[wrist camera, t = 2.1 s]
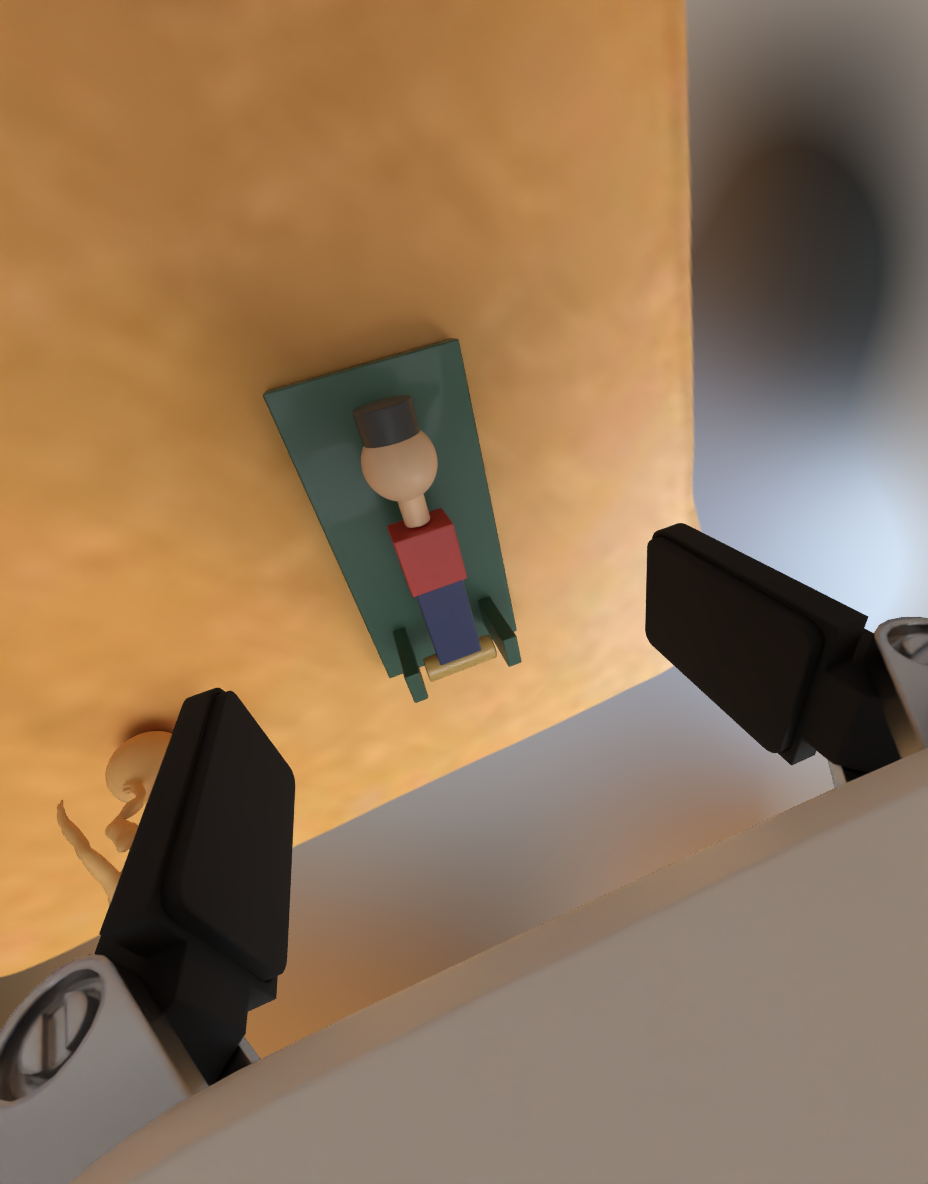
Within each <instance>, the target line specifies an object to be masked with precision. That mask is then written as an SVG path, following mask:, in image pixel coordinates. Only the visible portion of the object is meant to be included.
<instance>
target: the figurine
mask: <svg viewBox="0 0 928 1184" xmlns="http://www.w3.org/2000/svg"><path fill="white" fill-rule="evenodd" d="M171 735H172V733H169V732H165V731H150V732H145V733H141V734H139V735H136V736H134V737H132V738H130V739H129V740H127V741H126V742H124V743H123V744H122V745H121V746H120V747H119V748H118V749H117V750H116V751H115V752H114V753H113V755H112V756H111V758H110V760H109V762H108V765H107V768H106V783H107V786H108V789H109V790H110V792H111V793H112V794H113V795H114V796H115V797H116V798H117V799H119V800H120V801H122V802H125V803H126V805H125V806H124V807H123V809H122V811H121V812H120V814H119V815H118V816H117V817H116V818H115V819H114V820H113V821H112V822H111V823H110V824H109V825H108V826H107V828H106V830H105V834H106V836H107V837H108V838H110V839H111V840H112V841H113V843H114V844H115V845H116V848H117V851H118V852H125V851H127V850H128V849H130V848H131V845H132V843H133V840H134V837H135V834H136V832H137V829H138V825H137V824H135V823H131V822H129V821H127V820H125V819H127V818H129V817H131V816H133V815H134V814H136V813H137V812H138V811H139V810H140V809H141V808H142V806H143V804H147V801H148V799H149V796H150V793H151V790H152V788H153V785H154V782H155V779H156V777H157V774H158V771H159V768H160V766H161V763H162V760H163V757H164V755H165V752H166V749H167V746H168V744H169V741H170V738H171ZM57 821H58V823H59V826H60V827H61V830H62V833H63V835H64V836H65V838H66V839H67V840H68V841H69V842H70V843H71V844H72V845H73V846H74V848H75V851H76V854H77V856H78V857H79V859H80V860H81V861H82V863H83V864H84V866H85V867H86V868H87V870H88V871H89V872H90V873H91V875H92V876H93V877H94V878H95V879H96V880H98V881H99V882H100V883H101V885H102V886H103V888H104V890H105V892H106V894H107V896H108V902H109V905H110V903H111V900H112V898H113V895H114V892H115V889H116V887H117V884H118V881H119V878H120V876H121V873H122V871H121V873H120V872H119V871H118V870H117V869H116V868H115V867H114V866H113V865H112V864H110V863H109V862H108V861H107V860H106V859H105V858H104V857H103V856H102V855H100V854H99V853H98V852H96V851H95V850H93V849H92V848H91V847H90V844H89V841H88V840H87V838H86V837H85V836H84V835H83V833H82V832H81V831H80V829H79V828H78V827H77V826H76V825H75V824H74V823H72V822H71V821H70V820H69V818H68V817H67V815H66V813H65V810H64V808H63V800H61V803H60V804H58V806H57ZM122 870H123V869H122Z"/></svg>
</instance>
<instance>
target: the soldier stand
mask: <svg viewBox="0 0 928 1184" xmlns="http://www.w3.org/2000/svg"><path fill="white" fill-rule="evenodd" d="M397 395H410V396H411V398H412V401H413V405H414V409H415V412H416V416H417V420H418V424H419V427H420V430H422V431H423V432H424V433H425V434H426V435H427V436H428V438H429V439H430V440H431V442H432V443H433V446H434V448H435V451H436V454H437V462H438V466H437V473H436V476H435V479H434V481H433V483H432V484H431V486H430V487H429V489H428V490H427V491H426V492H425V493H424V497H425V501H426V504H427V508H428V511H429V512H430V511H433V510H436V509H439V508H442V509H443V510H444V512H445V513H446V515H447V516H448V517H449V519H450V520H451V521H452V523H453V524H454V528H455V532H456V536H457V540H458V543H459V547H460V551H461V555H462V559H463V563H464V567H465V570H466V574H467V578H466V579H464V580H463V581H464V585H465V589H466V593H467V596H468V600H469V604H470V608H471V611H472V615H473V619H474V623H475V626H476V630H477V634H478V638H479V637H481V636H484V635H487V634H488V635H489V636H490V637H491V639H492V640H493V641H494V642H495V644H496V646H497V647H498V649H499V651H500V653H501V654H502V656H503V658H504V659H505V661H506V663H507V664H508V666H509V667H510V666H513V665H515V664H518V663H520V662H521V657H520V652H519V647H518V642H517V637H516V635H515V633H514V631H516V624H515V619H514V614H513V609H512V604H511V599H510V594H509V589H508V584H507V579H506V574H505V569H504V564H503V559H502V554H501V549H500V544H499V539H498V534H497V529H496V524H495V519H494V514H493V509H492V504H491V499H490V494H489V489H488V484H487V479H486V474H485V469H484V464H483V459H482V454H481V449H480V444H479V439H478V434H477V429H476V424H475V419H474V414H473V409H472V404H471V399H470V394H469V389H468V384H467V379H466V374H465V369H464V364H463V359H462V354H461V349H460V344H459V340H458V339H448V340H444V341H441V342H437V343H434V344H430V345H427V346H423V347H420V348H416V349H413V350H409V351H405V352H402V353H398V354H395V355H391V356H388V357H384V358H381V359H377V360H374V361H370V362H366V363H363V364H359V365H356V366H352V367H349V368H345V369H342V370H338V371H335V372H331V373H327V374H324V375H320V376H317V377H313V378H310V379H306V380H303V381H299V382H296V383H292V384H288V385H285V386H281V387H278V388H274V389H271V390H267V391H266V392H265V393H264V394H263V397H264V399H265V402H266V404H267V406H268V408H269V410H270V413H271V415H272V417H273V419H274V422H275V424H276V426H277V428H278V430H279V433H280V435H281V437H282V439H283V442H284V444H285V446H286V448H287V451H288V453H289V455H290V457H291V459H292V462H293V464H294V466H295V468H296V471H297V473H298V475H299V477H300V479H301V482H302V484H303V486H304V488H305V491H306V493H307V495H308V497H309V500H310V502H311V504H312V506H313V508H314V511H315V513H316V515H317V517H318V520H319V522H320V524H321V526H322V528H323V531H324V533H325V535H326V537H327V540H328V542H329V544H330V546H331V549H332V551H333V553H334V555H335V557H336V560H337V562H338V564H339V566H340V569H341V571H342V573H343V575H344V577H345V580H346V582H347V584H348V586H349V589H350V591H351V593H352V595H353V597H354V600H355V602H356V604H357V606H358V609H359V611H360V613H361V615H362V618H363V620H364V622H365V624H366V626H367V629H368V631H369V633H370V635H371V638H372V640H373V642H374V644H375V646H376V649H377V651H378V653H379V655H380V658H381V660H382V662H383V664H384V667H385V669H386V671H387V673H388V675H389V677H390V678H392V677H395V676H397V675H400V674H404V678H405V681H406V683H407V685H408V688H409V690H410V692H411V695H412V697H413V700H414V702H415V703H417V702H419V701H422V700H425V699H427V698H428V694H427V691H426V688H425V685H424V681H423V678H422V675H421V672H420V669H419V667H421V666H424V662H423V659H424V658H425V657H428V656H431V655H433V654H436V652H435V650H434V647H433V644H432V641H431V639H430V636H429V633H428V630H427V627H426V624H425V621H424V618H423V616H422V613H421V610H420V607H419V604H418V601H417V598H416V597H412V595H411V592H410V590H409V587H408V584H407V582H406V579H405V576H404V573H403V571H402V568H401V565H400V562H399V559H398V557H397V554H396V551H395V548H394V545H393V542H392V540H391V537H390V534H389V531H388V528H387V526H388V525H390V524H393V523H396V522H399V521H402V520H403V517H402V514H401V511H400V508H399V505H398V502H397V501H393V500H389V499H386V498H384V497H382V496H381V495H379V494H378V493H376V492H375V491H374V490H373V489H372V488H371V487H370V486H369V484H368V483H367V481H366V479H365V477H364V475H363V472H362V467H361V453H362V448H363V443H362V440H361V437H360V434H359V431H358V429H357V426H356V423H355V420H354V417H353V414H352V412H353V411H354V410H355V409H356V408H358V407H360V406H362V405H364V404H367V403H370V402H373V401H376V400H379V399H383V398H387V397H391V396H397Z"/></svg>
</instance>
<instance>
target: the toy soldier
mask: <svg viewBox="0 0 928 1184" xmlns="http://www.w3.org/2000/svg"><path fill="white" fill-rule="evenodd" d="M352 414H353V417H354V420H355V423H356V426H357V429H358V431H359V434H360V437H361V440H362V443H363V448H362V453H361V467H362V472H363V475H364V477H365V479H366V481H367V483H368V484H369V486H370V487H371V488H372V489H373V490H374V491H375V492H376V493H378V494H379V495H381V496H382V497H384V498H386V499H389V500H393V501H397V502H398V505H399V508H400V511H401V514H402V517H403V520H402V521H399V522H396V523H393V524H390V525H388V526H387V528H388V531H389V534H390V537H391V540H392V542H393V545H394V548H395V551H396V554H397V557H398V559H399V562H400V565H401V568H402V571H403V573H404V576H405V579H406V582H407V584H408V587H409V590H410V592H411V595H412V597H416V598H417V601H418V604H419V607H420V610H421V613H422V616H423V618H424V621H425V624H426V627H427V630H428V633H429V636H430V639H431V641H432V644H433V647H434V650H435V652H436V654H433V655H431V656H428V657H425V658H424V659H423V662H424V665H425V668H426V670H427V673H428V676H429V679H430V681H431V682H433V681H436V680H438V679H441V678H443V677H446V676H449V675H451V674H454V673H457V672H459V671H462V670H464V669H467V668H470V667H472V666H475V665H477V664H480V663H483V662H485V661H488V660H490V659H493V658H496V657H497V653H496V649H495V646H494V643H493V641H492V639H491V637H490V636H489V635H488V634H487V635H484V636H481V637H479V638H478V634H477V630H476V626H475V623H474V619H473V615H472V611H471V608H470V604H469V600H468V596H467V593H466V589H465V585H464V581H463V580H464V579H466V578H467V574H466V570H465V567H464V563H463V559H462V555H461V551H460V547H459V543H458V540H457V536H456V532H455V528H454V524H453V523H452V521H451V520H450V519H449V517H448V516H447V515H446V513H445V512H444V510H443V509H442V508H439V509H436V510H433V511H430V512H429V511H428V508H427V504H426V501H425V497H424V493H425V492H426V491H427V490H428V489H429V487H430V486H431V484H432V483H433V481H434V479H435V476H436V473H437V466H438V462H437V454H436V451H435V448H434V446H433V443H432V442H431V440H430V439H429V438H428V436H427V435H426V434H425V433H424V432H423V431H422V430H420V427H419V424H418V420H417V416H416V412H415V409H414V405H413V401H412V398H411V396H410V395H397V396H391V397H387V398H383V399H379V400H376V401H373V402H370V403H367V404H364V405H362V406H360V407H358V408H356V409H355V410H354V411H353V412H352Z"/></svg>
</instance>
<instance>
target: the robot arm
mask: <svg viewBox="0 0 928 1184" xmlns="http://www.w3.org/2000/svg"><path fill="white" fill-rule="evenodd" d="M867 619H868V616H866V615H864V614H862V613H860V612H858V611H856V610H854V609H852V608H850V607H848V606H846V605H844V604H842V603H840V602H838V601H836V600H834V599H832V598H830V597H828V596H826V595H824V594H822V593H820V592H818V591H816V590H814V589H813V588H811V587H809V586H807V585H804V584H803V583H801V582H799V581H797V580H795V579H793V578H791V577H789V576H787V575H785V574H783V573H781V572H779V571H777V570H775V569H773V568H771V567H769V566H767V565H765V564H763V563H761V562H759V561H757V560H755V559H753V558H751V557H749V556H747V555H745V554H743V553H741V552H739V551H737V550H735V549H734V548H732V547H730V546H727V545H726V544H724V543H721V542H720V541H718V540H716V539H714V538H712V537H710V536H708V535H706V534H704V533H702V532H700V531H698V530H696V529H694V528H692V527H690V526H688V525H686V524H683V523H678V524H675V525H672V526H670V527H667V528H664V529H661V530H658V531H656V532H655V533H654V535H653V537H652V540H650V541H649V543H648V546H647V581H646V623H645V631H646V636H647V638H648V640H649V642H650V643H651V644H652V646H653V647H655V648H656V649H657V650H658V651H659V652H660V653H661V654H662V655H663V656H664V657H665V658H667V659H668V660H669V661H670V662H671V663H672V664H673V665H674V666H675V667H676V668H678V669H679V670H680V671H681V672H682V673H683V674H684V675H685V676H686V677H687V678H688V679H690V680H691V681H692V682H693V683H694V684H695V685H696V686H697V687H698V688H699V689H700V690H701V691H703V692H704V693H705V694H706V695H707V696H708V697H709V698H710V699H711V700H712V701H713V702H714V703H716V704H717V705H718V706H719V707H720V708H721V709H722V710H723V711H724V712H725V713H726V714H728V715H729V716H730V717H731V718H732V719H733V720H734V721H735V722H736V723H737V724H739V725H740V726H741V727H742V728H743V729H744V730H745V731H746V732H747V733H748V734H749V735H750V736H752V737H753V738H754V739H755V740H756V741H757V742H758V743H759V744H760V745H761V746H762V747H764V748H765V749H766V750H768V751H770V752H772V753H778V754H779V755H781V756H782V757H783V758H784V759H785V760H786V761H787V762H788V763H789V764H790V765H794V764H796V763H798V762H800V761H802V760H805V759H807V758H809V757H811V756H813V755H815V753H816V750H817V751H818V752H819V753H820V754H822V755H823V756H824V757H825V758H827V759H828V763H829V767H830V771H831V775H832V779H833V783H834V787H835V788H834V789H832V790H830V791H828V792H826V793H823V794H821V795H819V796H817V797H815V798H813V799H810V800H808V801H806V802H804V803H802V804H800V805H797V806H795V807H793V808H791V809H789V810H787V811H784V812H782V813H780V814H778V815H776V816H774V817H771V818H769V819H767V820H765V821H763V822H761V823H758V824H756V825H754V826H752V827H750V828H747V829H745V830H743V831H741V832H739V833H737V834H734V835H732V836H730V837H728V838H726V839H724V840H721V841H719V842H717V843H715V844H713V845H711V846H709V847H706V848H704V849H702V850H700V851H698V852H695V853H694V854H691V855H689V856H687V857H685V858H683V859H680V860H678V861H676V862H674V863H672V864H670V865H668V866H666V867H664V868H661V869H659V870H657V871H655V872H653V873H651V874H648V875H646V876H644V877H642V878H640V879H638V880H635V881H634V882H631V883H629V884H627V885H625V886H623V887H620V888H618V889H616V890H614V891H612V892H610V893H608V894H606V895H603V896H601V897H599V898H597V899H595V900H593V901H590V902H588V903H586V904H584V905H582V906H580V907H578V908H576V909H573V910H571V911H569V912H567V913H565V914H563V915H561V916H558V917H557V918H554V919H552V920H550V921H548V922H546V923H543V924H541V925H539V926H537V927H535V928H533V929H531V930H529V931H526V932H524V933H522V934H520V935H518V936H516V937H514V938H512V939H509V940H508V941H505V942H503V943H501V944H499V945H497V946H495V947H493V948H491V949H488V950H486V951H484V952H482V953H480V954H478V955H476V956H473V957H471V958H469V959H467V960H465V961H463V962H461V963H459V964H457V965H454V966H452V967H450V968H448V969H446V970H444V971H442V972H440V973H438V974H435V975H433V976H431V977H429V978H427V979H425V980H423V981H421V982H419V983H417V984H414V985H412V986H410V987H408V988H406V989H404V990H402V991H400V992H398V993H396V994H393V995H391V996H389V997H387V998H385V999H383V1000H381V1001H378V1002H376V1003H374V1004H372V1005H370V1006H368V1007H366V1008H364V1009H361V1010H359V1011H357V1012H355V1013H353V1014H351V1015H349V1016H347V1017H345V1018H343V1019H341V1020H339V1021H337V1022H335V1023H333V1024H331V1025H329V1026H327V1027H325V1028H323V1029H321V1030H319V1031H317V1032H315V1033H313V1034H311V1035H309V1036H307V1037H305V1038H303V1039H301V1040H299V1041H297V1042H295V1043H293V1044H291V1045H289V1046H286V1047H285V1048H283V1049H280V1050H278V1051H276V1052H274V1053H272V1054H270V1055H269V1056H266V1057H264V1058H262V1059H260V1057H259V1056H258V1055H257V1053H256V1052H255V1050H254V1049H253V1048H252V1047H251V1045H250V1044H249V1042H248V1041H247V1040H246V1039H245V1037H244V1035H245V1033H246V1023H247V1013H248V1011H250V1010H252V1009H255V1008H257V1007H259V1006H261V1005H263V1004H266V1003H268V1002H270V1001H272V1000H274V999H276V993H277V976H278V975H280V974H282V973H283V972H284V970H285V967H286V963H287V948H288V928H289V907H290V905H289V904H290V886H291V864H292V843H293V822H294V801H295V779H294V775H293V772H292V770H291V768H290V767H289V765H288V764H287V763H286V761H285V760H284V759H283V757H282V756H281V754H280V753H279V752H278V750H277V749H276V748H275V746H274V745H273V744H272V742H271V741H270V740H269V738H268V737H267V736H266V734H265V733H264V732H263V730H262V729H261V727H260V726H259V725H258V723H257V722H256V721H255V719H254V718H253V717H252V715H251V714H250V713H249V711H248V710H247V709H246V707H245V706H244V705H243V703H242V702H241V700H240V699H239V698H238V696H237V695H236V694H235V693H234V692H232V691H227V692H225V691H224V690H222V689H221V688H214V689H211V690H208V691H206V692H203V693H200V694H197V695H194V696H192V697H189V698H187V699H186V700H185V701H184V703H183V705H182V708H181V711H180V713H179V716H178V719H177V722H176V724H175V727H174V730H173V733H172V735H171V738H170V741H169V744H168V746H167V749H166V752H165V755H164V757H163V760H162V763H161V766H160V768H159V771H158V774H157V777H156V779H155V782H154V785H153V788H152V790H151V793H150V796H149V799H148V801H147V804H146V807H145V810H144V812H143V815H142V818H141V821H140V823H139V826H138V829H137V832H136V834H135V837H134V840H133V843H132V845H131V848H130V851H129V854H128V856H127V859H126V862H125V865H124V867H123V870H122V873H121V876H120V878H119V881H118V884H117V887H116V889H115V892H114V895H113V898H112V900H111V903H110V906H109V909H108V911H107V914H106V917H105V920H104V922H103V925H102V928H101V931H100V933H99V934H100V935H101V937H100V940H99V943H98V945H97V948H96V951H95V954H89V955H86V956H83V957H80V958H77V959H74V960H72V961H70V962H69V963H67V964H65V965H64V966H62V967H60V968H59V969H58V970H56V971H54V972H53V973H52V974H51V975H49V976H48V977H47V978H46V979H45V980H43V981H42V982H41V983H40V984H39V985H38V986H36V987H35V988H34V989H33V990H32V991H31V992H30V994H29V995H28V996H27V997H26V998H25V999H24V1000H23V1001H22V1002H21V1004H20V1005H19V1006H18V1007H17V1008H16V1009H15V1010H14V1012H13V1013H12V1014H11V1016H10V1017H9V1019H8V1020H7V1022H6V1023H5V1024H4V1026H3V1027H2V1029H1V1030H0V1184H928V618H922V617H901V618H896V619H891V620H888V621H886V622H884V623H882V624H880V625H879V626H878V628H877V629H876V631H875V633H872V632H870V631H868V630H866V629H864V627H865V624H866V621H867Z"/></svg>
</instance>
